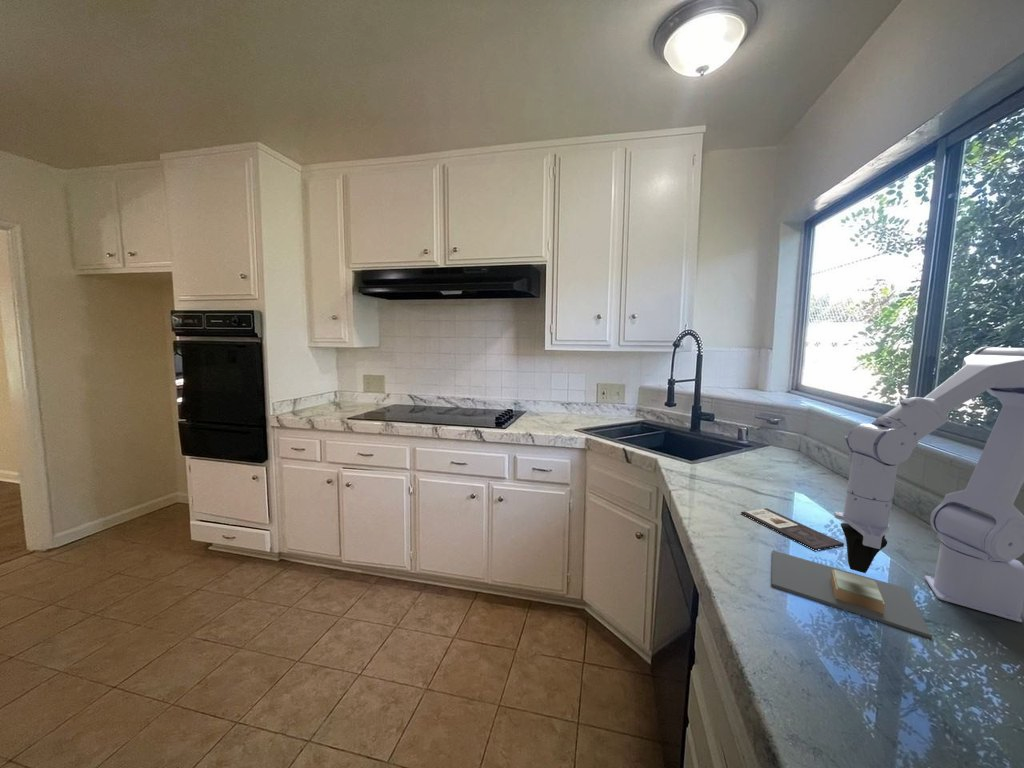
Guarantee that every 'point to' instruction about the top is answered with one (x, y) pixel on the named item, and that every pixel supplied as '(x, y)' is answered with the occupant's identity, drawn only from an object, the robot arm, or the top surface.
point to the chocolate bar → (793, 529)
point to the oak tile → (857, 591)
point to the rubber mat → (817, 586)
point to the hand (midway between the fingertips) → (857, 569)
